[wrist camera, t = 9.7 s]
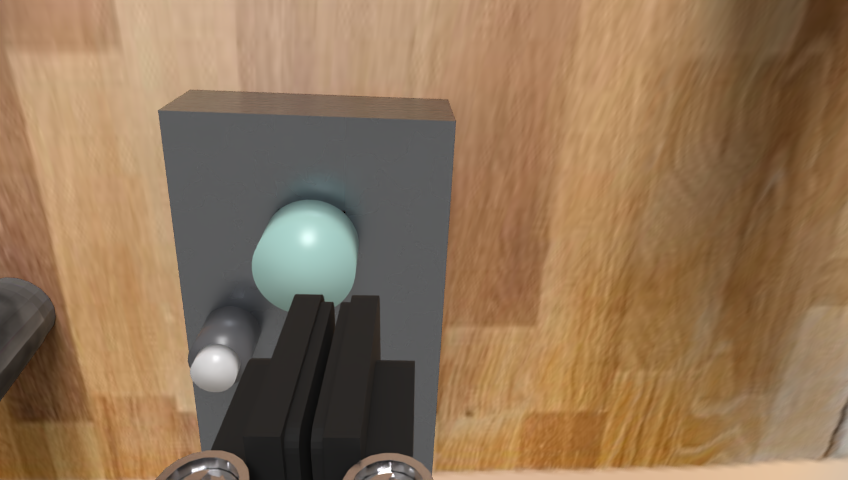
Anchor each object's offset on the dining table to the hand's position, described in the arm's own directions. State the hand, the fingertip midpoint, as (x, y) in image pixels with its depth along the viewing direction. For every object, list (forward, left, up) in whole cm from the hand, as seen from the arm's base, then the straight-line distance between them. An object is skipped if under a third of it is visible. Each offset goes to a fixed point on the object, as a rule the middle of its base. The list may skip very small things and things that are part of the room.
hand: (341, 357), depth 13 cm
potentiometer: (+8, +12, -19) cm, 24 cm away
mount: (+3, +12, -24) cm, 27 cm away
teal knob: (+3, +6, -23) cm, 24 cm away
